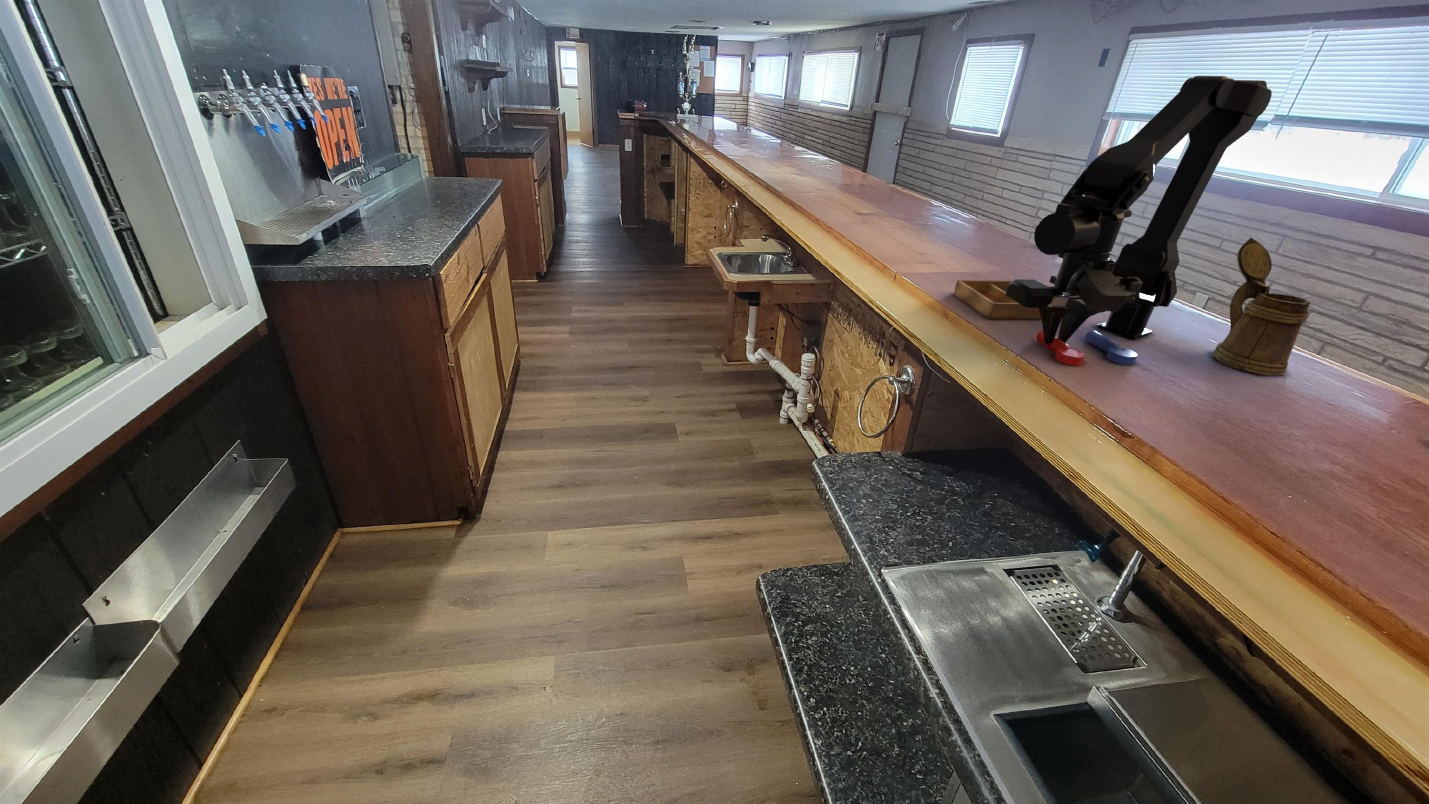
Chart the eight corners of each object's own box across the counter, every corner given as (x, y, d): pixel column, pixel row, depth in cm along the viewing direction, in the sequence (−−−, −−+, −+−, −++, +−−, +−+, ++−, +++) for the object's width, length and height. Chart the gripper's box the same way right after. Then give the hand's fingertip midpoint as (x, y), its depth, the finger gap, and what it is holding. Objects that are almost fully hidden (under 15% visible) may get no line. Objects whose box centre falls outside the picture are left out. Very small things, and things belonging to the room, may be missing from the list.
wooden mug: (1218, 340, 99) (1272, 237, 90) (1299, 375, 88) (1370, 260, 79) (1175, 341, 98) (1226, 237, 89) (1252, 377, 86) (1319, 261, 77)
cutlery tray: (953, 294, 116) (957, 280, 114) (1017, 294, 117) (1021, 280, 116) (988, 319, 104) (993, 303, 102) (1059, 319, 105) (1064, 304, 104)
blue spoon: (1075, 339, 97) (1079, 328, 96) (1096, 339, 97) (1100, 328, 96) (1117, 365, 88) (1122, 353, 87) (1139, 365, 89) (1145, 353, 88)
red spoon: (1027, 339, 96) (1030, 328, 95) (1047, 339, 96) (1051, 328, 95) (1064, 365, 87) (1069, 354, 86) (1087, 365, 88) (1091, 353, 87)
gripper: (1065, 263, 77) (1029, 366, 84) (1189, 264, 78) (1143, 365, 86) (1019, 242, 86) (990, 336, 94) (1131, 244, 88) (1093, 336, 96)
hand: (1054, 343), depth 92 cm, fingers closed on red spoon, 2 cm apart
